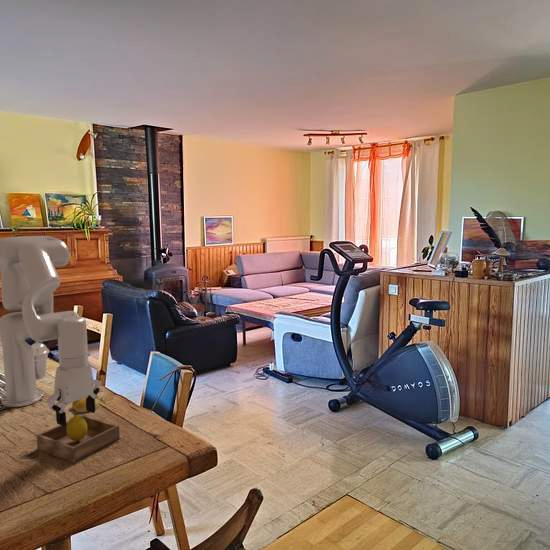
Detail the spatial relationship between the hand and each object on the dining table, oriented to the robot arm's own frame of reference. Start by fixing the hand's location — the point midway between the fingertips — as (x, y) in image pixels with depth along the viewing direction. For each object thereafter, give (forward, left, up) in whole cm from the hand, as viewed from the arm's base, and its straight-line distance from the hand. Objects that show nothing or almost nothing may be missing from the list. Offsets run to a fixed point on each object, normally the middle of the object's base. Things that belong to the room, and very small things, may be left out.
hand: (76, 417), depth 137 cm
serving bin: (+1, 0, -8) cm, 8 cm away
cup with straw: (-62, +30, -8) cm, 69 cm away
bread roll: (-20, +18, -8) cm, 28 cm away
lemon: (+1, -1, -7) cm, 7 cm away
